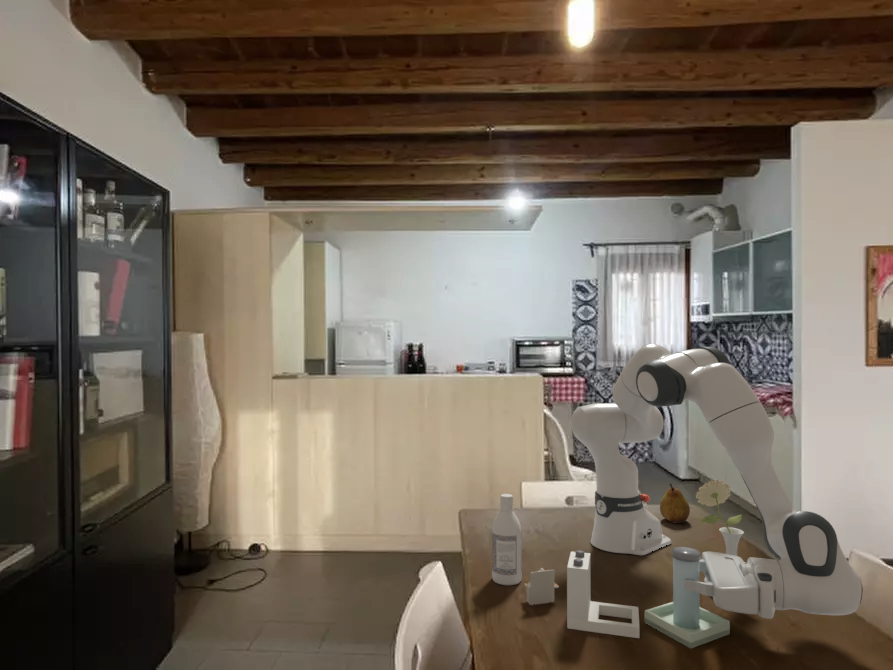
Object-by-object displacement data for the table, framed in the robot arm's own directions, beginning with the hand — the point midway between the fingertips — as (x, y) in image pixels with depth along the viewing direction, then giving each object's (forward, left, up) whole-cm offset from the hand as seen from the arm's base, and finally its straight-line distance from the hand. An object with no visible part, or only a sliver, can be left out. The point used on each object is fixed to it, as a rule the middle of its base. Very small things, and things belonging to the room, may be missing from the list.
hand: (682, 574), depth 116 cm
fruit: (-54, -48, -11) cm, 72 cm away
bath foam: (+17, -36, -11) cm, 41 cm away
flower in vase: (-23, -7, -11) cm, 26 cm away
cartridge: (-1, 0, -9) cm, 10 cm away
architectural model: (+17, -23, -11) cm, 31 cm away
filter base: (+12, -9, -11) cm, 18 cm away
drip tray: (-1, 0, -11) cm, 11 cm away
